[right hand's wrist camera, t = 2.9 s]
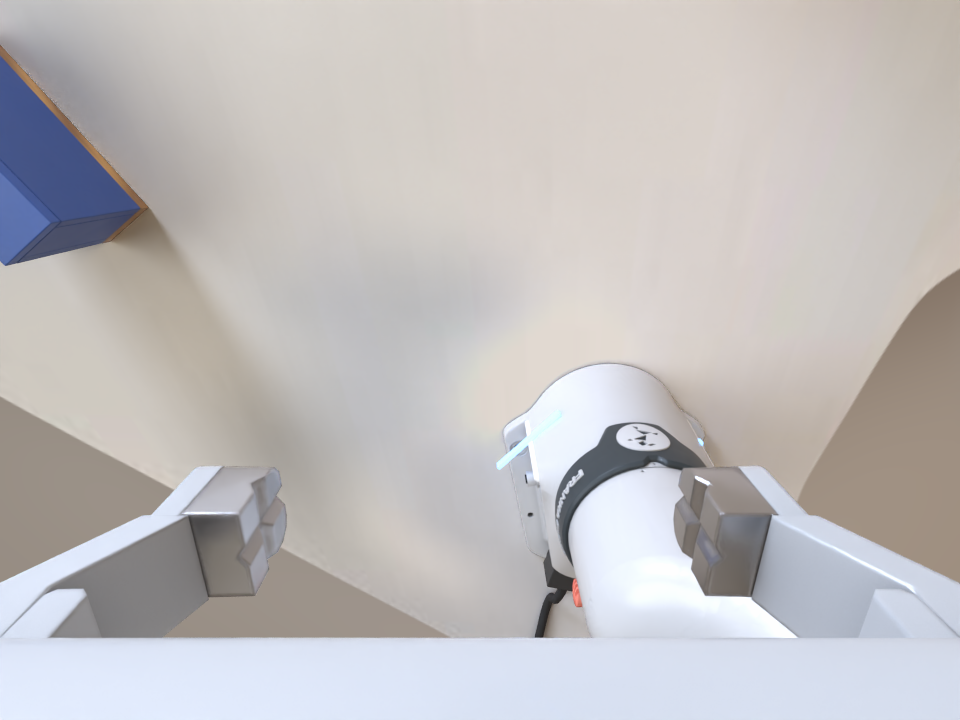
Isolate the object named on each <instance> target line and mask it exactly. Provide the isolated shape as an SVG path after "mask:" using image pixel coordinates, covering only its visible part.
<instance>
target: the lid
mask: <svg viewBox="0 0 960 720" xmlns="http://www.w3.org/2000/svg"><path fill="white" fill-rule="evenodd" d="M59 223H60V220H59V219H58V218H57V217H56V216H55V215H54V214H53V213H52V212H51V211H50V210H49V209H48V208H47V207H46V206H45V205H44V204H43V203H42V202H41V201H40V200H39V199H38V198H37V197H36V196H35V195H34V194H33V193H32V192H31V191H30V190H29V189H28V188H27V187H26V186H25V185H24V184H23V183H22V182H21V181H20V180H19V179H18V178H17V177H16V176H15V175H14V174H13V173H12V172H11V171H10V170H9V169H8V168H7V167H6V166H5V165H4V164H3V163H2V162H1V161H0V261H1V262H2V263H3V264H4V265H5V266H7V265H11V264H16V263H17V262H18V261H19V260H20V259H21V258H22V257H23V256H24V255H25V254H26V253H27V252H28V251H30V250H31V249H32V248H33V247H34V246H35V245H36V244H37V243H38V242H39V241H40V240H41V239H42V238H43V237H45V236H46V235H47V234H48V233H49V232H50V231H51V230H52V229H53V228H54V227H55V226H56V225H57V224H59Z"/></svg>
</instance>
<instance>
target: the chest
mask: <svg viewBox="0 0 960 720" xmlns="http://www.w3.org/2000/svg"><path fill="white" fill-rule="evenodd" d="M0 161H1V162H2V163H3V164H4V165H5V166H6V167H7V168H8V169H9V170H10V171H11V172H12V173H13V174H14V175H15V176H16V177H17V178H18V179H19V180H20V181H21V182H22V183H23V184H24V185H25V186H26V187H27V188H28V189H29V190H30V191H31V192H32V193H33V194H34V195H35V196H36V197H37V198H38V199H39V200H40V201H41V202H42V203H43V204H44V205H45V206H46V207H47V208H48V209H49V210H50V211H51V212H52V213H53V214H54V215H55V216H56V217H57V218H58V219H59V220H60V223H59V224H57V225H56V226H55V227H54V228H53V229H52V230H51V231H50V232H49V233H48V234H47V235H46V236H45V237H43V238H42V239H41V240H40V241H39V242H38V243H37V244H36V245H35V246H34V247H33V248H32V249H31V250H30V251H28V252H27V253H26V254H25V255H24V256H23V257H22V258H21V259H20V260H19V261H18V262H17V263H21V262H25V261H29V260H33V259H37V258H41V257H46V256H50V255H54V254H58V253H62V252H67V251H71V250H75V249H79V248H83V247H88V246H92V245H96V244H100V243H106V242H110V241H111V240H112V239H113V238H115V237H116V236H117V235H118V234H119V233H120V232H121V231H122V230H124V229H125V228H126V227H127V226H128V225H129V224H130V223H131V222H133V221H134V220H135V219H136V218H137V217H138V216H139V215H140V214H142V213H143V212H144V211H145V210H146V209H147V208H148V206H147V205H146V204H145V203H144V202H143V201H142V200H141V199H140V197H139V196H138V195H137V194H136V193H135V192H134V191H133V190H132V189H131V188H130V187H129V185H128V184H127V183H126V182H125V181H124V180H123V179H122V178H121V177H120V176H119V175H118V173H117V172H116V171H115V170H114V169H113V168H112V167H111V166H110V165H109V164H108V162H107V161H106V160H105V159H104V158H103V157H102V156H101V155H100V154H99V153H98V152H97V150H96V149H95V148H94V147H93V146H92V145H91V144H90V143H89V142H88V141H87V140H86V138H85V137H84V136H83V135H82V134H81V133H80V132H79V131H78V130H77V129H76V127H75V126H74V125H73V124H72V123H71V122H70V121H69V120H68V119H67V118H66V117H65V115H64V114H63V113H62V112H61V111H60V110H59V109H58V108H57V107H56V106H55V105H54V103H53V102H52V101H51V100H50V99H49V98H48V97H47V96H46V95H45V94H44V92H43V91H42V90H41V89H40V88H39V87H38V86H37V85H36V84H35V83H34V82H33V80H32V79H31V78H30V77H29V76H28V75H27V74H26V73H25V72H24V71H23V70H22V68H21V67H20V66H19V65H18V64H17V63H16V62H15V61H14V60H13V59H12V57H11V56H10V55H9V54H8V53H7V52H6V51H5V50H4V49H3V48H2V47H1V45H0Z"/></svg>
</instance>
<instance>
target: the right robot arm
mask: <svg viewBox="0 0 960 720" xmlns="http://www.w3.org/2000/svg"><path fill="white" fill-rule="evenodd" d="M503 437H504V442H505V446H506V451H507V455H506V456H504V457H503V458H502V459H501V460H500V461H499V462H498V463H497V468H498V469H499V470H500V469H501V468H502V467H503V466H504V465H505V464H507V463H508V462H509V464H510V469H511V474H512V478H513V483H514V487H515V492H516V497H517V501H518V506H519V510H520V515H521V520H522V524H523V529H524V533H525V538H526V542H527V545H528V548H529V550H530V551H531V552H532V553H534V554H536V555H538V556H540V557H543V558H545V560H544V569H545V575H546V581H547V586H548V587H553V588H558V589H557V591H556V593H555V594H554V593H549V594H548V595H547V596H546V598H545V600H544V603H543V606H542V609H541V613H540V617H539V621H538V625H537V630H536V634H535V638H162V637H163V636H165V635H166V634H167V633H168V632H169V631H171V630H172V629H173V628H174V627H176V626H177V625H178V624H179V623H181V622H182V621H183V620H184V619H185V618H187V617H188V616H189V615H190V614H192V613H193V612H194V611H195V610H196V609H198V608H199V607H200V606H201V605H203V604H204V603H205V602H206V601H208V599H209V598H208V597H235V596H255V595H256V593H257V591H258V589H259V588H260V586H261V584H262V582H263V580H264V578H265V576H266V574H267V572H268V570H269V566H268V560H267V559H268V558H270V557H271V556H273V555H274V554H276V553H277V552H278V551H279V549H280V547H281V545H282V543H283V540H284V535H285V531H286V508H285V504H284V503H283V502H282V501H281V500H280V499H279V498H278V497H277V496H276V495H277V493H278V491H279V490H280V488H281V486H282V484H281V479H280V474H279V471H278V470H277V469H276V468H275V467H240V466H226V467H224V466H201V467H197V468H195V469H194V470H193V471H192V472H191V473H190V474H189V475H188V476H187V477H186V478H185V480H184V481H183V482H182V483H181V484H180V485H179V486H178V487H177V488H176V489H175V490H174V491H173V492H172V494H171V495H170V496H169V497H168V498H167V499H166V500H165V501H164V502H163V503H162V504H161V505H160V506H159V507H158V509H157V510H156V511H155V512H154V513H153V514H152V515H146V516H145V515H143V516H141V517H138V518H137V519H134V520H132V521H130V522H128V523H126V524H124V525H122V526H119V527H117V528H115V529H113V530H111V531H109V532H107V533H105V534H103V535H101V536H99V537H96V538H94V539H92V540H90V541H88V542H86V543H84V544H81V545H79V546H77V547H75V548H73V549H71V550H69V551H67V552H65V553H62V554H60V555H58V556H56V557H54V558H52V559H50V560H48V561H46V562H43V563H41V564H39V565H37V566H35V567H33V568H31V569H29V570H27V571H24V572H22V573H20V574H18V575H16V576H14V577H12V578H10V579H7V580H6V581H3V582H1V583H0V720H960V583H958V582H956V581H954V580H952V579H950V578H948V577H946V576H944V575H942V574H939V573H937V572H935V571H933V570H931V569H929V568H927V567H925V566H923V565H920V564H918V563H916V562H914V561H912V560H910V559H908V558H906V557H904V556H902V555H899V554H897V553H895V552H893V551H891V550H889V549H887V548H885V547H883V546H881V545H878V544H876V543H874V542H872V541H870V540H868V539H866V538H864V537H862V536H859V535H857V534H855V533H853V532H851V531H849V530H847V529H845V528H843V527H840V526H838V525H836V524H834V523H832V522H830V521H828V520H826V519H824V518H822V517H819V516H815V515H808V514H807V513H806V512H805V511H804V510H803V509H802V507H801V506H800V505H799V504H798V503H797V502H796V501H795V500H794V499H793V498H792V497H791V496H790V495H789V493H788V492H787V491H786V490H785V489H784V488H783V487H782V486H781V485H780V484H779V483H778V482H777V481H776V480H775V478H774V477H773V476H772V475H771V474H770V473H769V472H768V471H767V470H766V469H765V468H763V467H761V466H737V467H715V466H714V465H713V463H712V461H711V459H710V457H709V456H708V454H707V452H706V450H705V449H704V447H703V440H704V437H705V432H704V430H703V428H702V426H701V425H700V423H699V422H698V421H697V420H696V419H694V418H693V417H691V416H690V415H688V414H687V413H685V412H683V411H682V410H681V409H680V408H679V407H678V406H677V404H676V403H675V401H674V399H673V397H672V396H671V394H670V393H669V391H668V390H667V389H666V387H665V386H664V385H663V384H662V383H661V382H660V381H659V380H657V379H656V378H655V377H653V376H652V375H650V374H649V373H647V372H645V371H643V370H640V369H638V368H635V367H631V366H627V365H621V364H598V365H592V366H588V367H584V368H581V369H578V370H576V371H573V372H571V373H569V374H567V375H565V376H564V377H562V378H561V379H559V380H558V381H556V382H555V383H554V384H552V385H551V386H550V387H549V388H548V389H547V390H546V391H545V392H544V393H543V394H542V396H541V397H540V398H539V400H538V401H537V402H536V403H535V405H534V406H533V407H532V408H531V409H530V410H529V411H528V412H527V413H525V414H523V415H521V416H520V417H518V418H516V419H515V420H513V421H512V422H510V423H509V424H508V425H507V426H506V427H505V429H504V431H503ZM516 444H518V445H517V446H516V447H515V445H516ZM567 590H568V591H573V599H574V603H575V606H576V607H583V610H584V615H585V619H586V623H587V628H588V631H589V634H590V637H591V638H543V634H544V630H545V626H546V622H547V618H548V614H549V611H550V608H551V605H552V603H553V604H557V603H559V602H560V601H561V600H562V598H563V597H564V595H565V594H566V592H567Z"/></svg>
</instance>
